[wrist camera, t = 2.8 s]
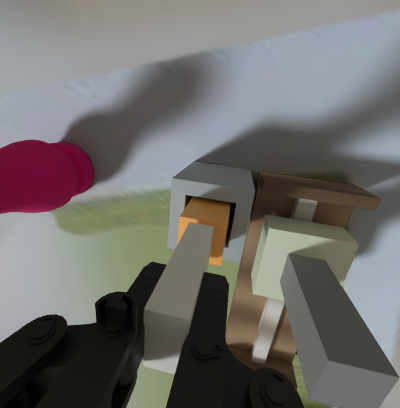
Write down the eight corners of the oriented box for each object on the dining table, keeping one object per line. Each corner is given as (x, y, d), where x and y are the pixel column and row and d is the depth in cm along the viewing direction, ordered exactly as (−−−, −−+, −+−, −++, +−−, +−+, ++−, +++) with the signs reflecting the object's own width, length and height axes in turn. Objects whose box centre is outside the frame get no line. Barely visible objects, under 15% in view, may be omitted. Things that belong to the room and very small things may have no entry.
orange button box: (240, 221, 24) (239, 262, 17) (188, 212, 25) (167, 248, 18) (250, 169, 22) (255, 191, 15) (194, 161, 23) (172, 178, 16)
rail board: (287, 356, 30) (295, 393, 26) (223, 340, 31) (221, 373, 27) (352, 184, 21) (380, 198, 17) (259, 170, 22) (264, 181, 18)
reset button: (226, 226, 19) (220, 266, 14) (194, 220, 20) (176, 257, 14) (231, 195, 18) (228, 225, 13) (197, 189, 19) (179, 216, 13)
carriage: (319, 287, 22) (399, 449, 11) (251, 273, 23) (261, 411, 12) (343, 227, 20) (476, 358, 9) (265, 214, 21) (295, 318, 9)
